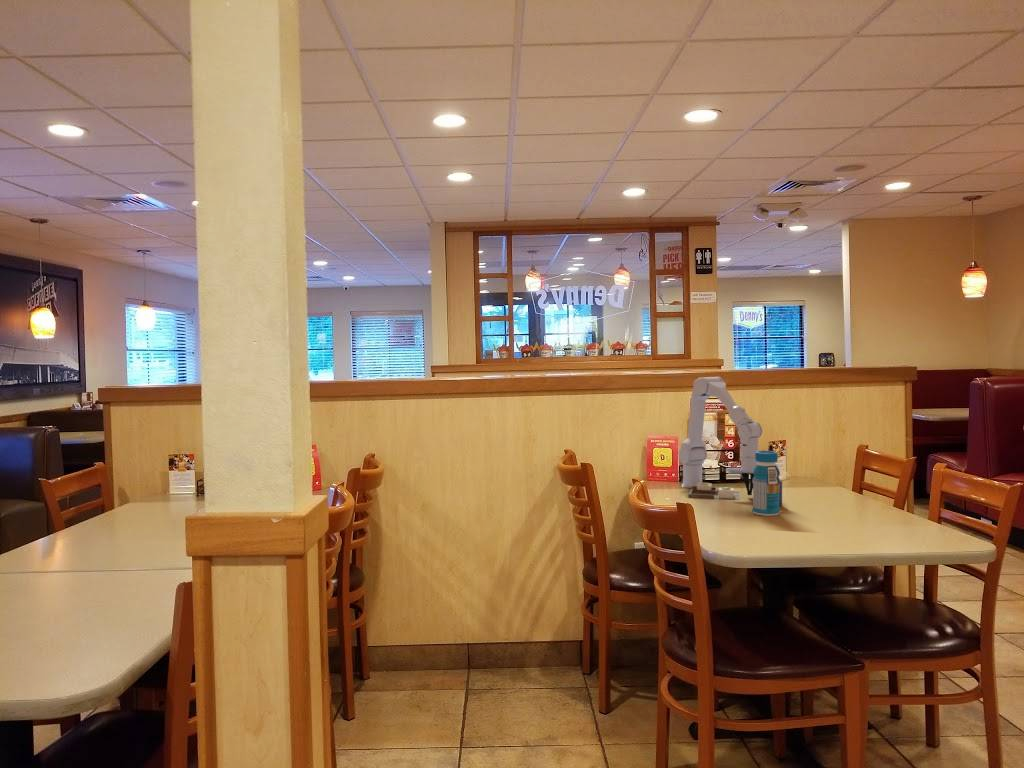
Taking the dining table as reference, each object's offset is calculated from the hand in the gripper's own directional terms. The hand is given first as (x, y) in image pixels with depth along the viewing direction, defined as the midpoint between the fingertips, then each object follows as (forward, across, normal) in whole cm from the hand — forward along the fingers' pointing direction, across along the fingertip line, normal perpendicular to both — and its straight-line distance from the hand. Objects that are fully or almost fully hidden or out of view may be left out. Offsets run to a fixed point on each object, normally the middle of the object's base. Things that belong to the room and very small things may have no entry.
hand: (749, 494), depth 269 cm
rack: (+1, -13, +4) cm, 14 cm away
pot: (+1, -8, 0) cm, 8 cm away
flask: (+2, +6, -12) cm, 14 cm away
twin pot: (+1, -16, +8) cm, 18 cm away
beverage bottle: (+2, +5, -24) cm, 25 cm away
